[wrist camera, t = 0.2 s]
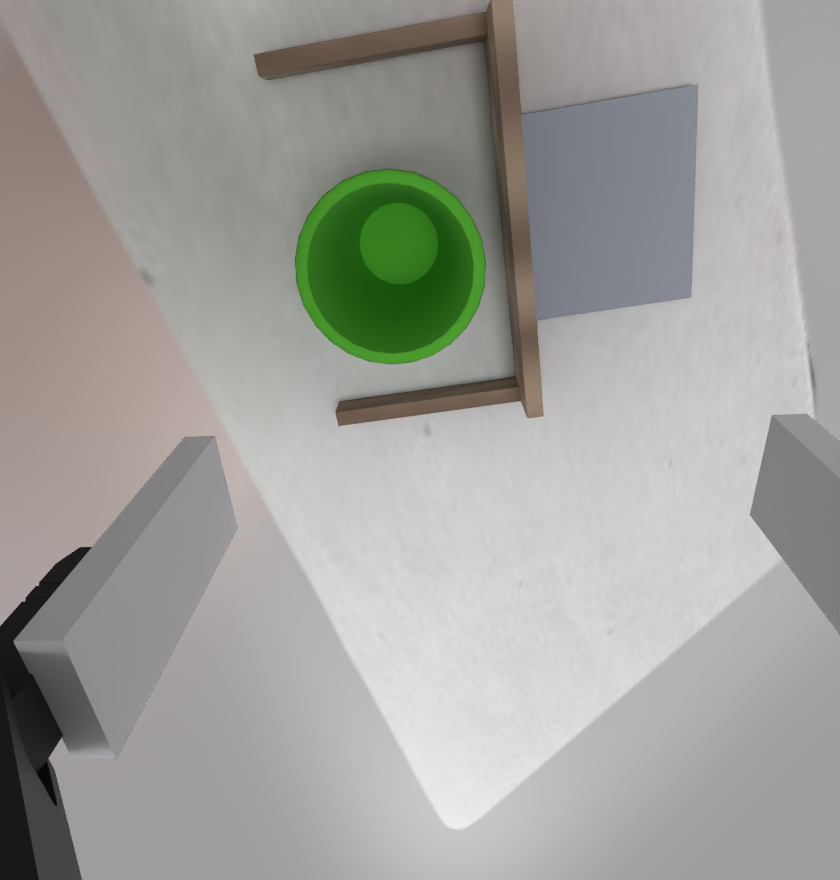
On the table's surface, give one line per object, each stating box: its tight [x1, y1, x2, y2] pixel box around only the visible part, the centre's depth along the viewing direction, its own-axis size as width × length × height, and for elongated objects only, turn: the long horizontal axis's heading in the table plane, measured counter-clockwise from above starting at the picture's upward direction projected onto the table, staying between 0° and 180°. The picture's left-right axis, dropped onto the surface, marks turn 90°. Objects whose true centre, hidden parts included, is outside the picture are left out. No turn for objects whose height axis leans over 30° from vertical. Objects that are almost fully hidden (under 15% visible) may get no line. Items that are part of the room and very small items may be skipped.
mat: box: [521, 85, 698, 320], centre depth 38 cm, size 12×10×1 cm
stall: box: [254, 0, 543, 426], centre depth 37 cm, size 22×14×5 cm, turn 9°
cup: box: [295, 169, 486, 364], centre depth 34 cm, size 9×9×11 cm
